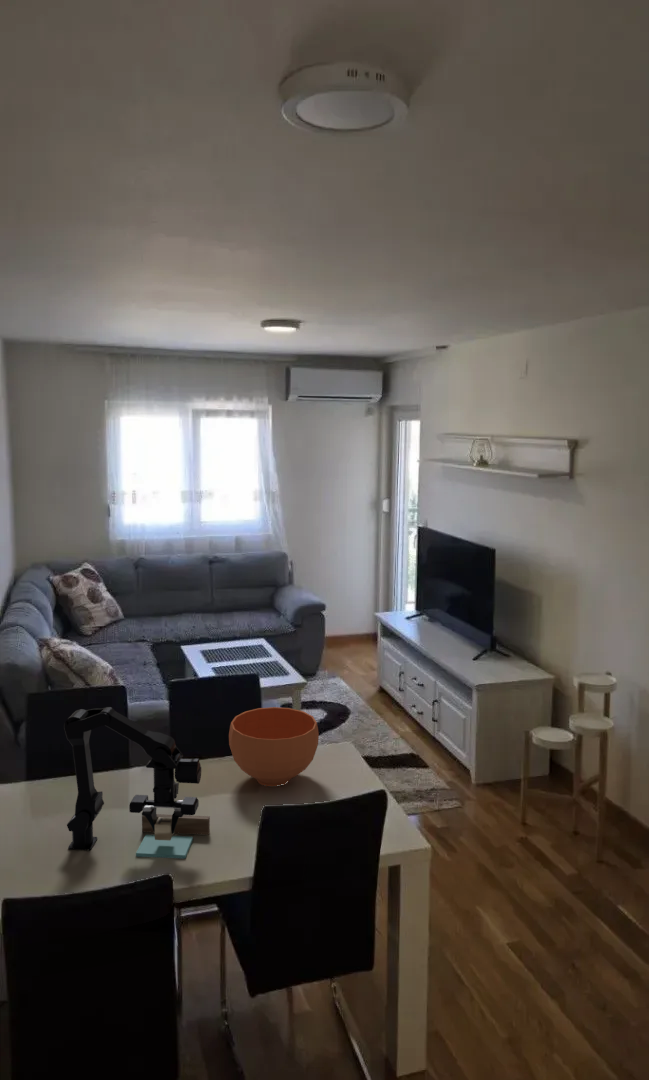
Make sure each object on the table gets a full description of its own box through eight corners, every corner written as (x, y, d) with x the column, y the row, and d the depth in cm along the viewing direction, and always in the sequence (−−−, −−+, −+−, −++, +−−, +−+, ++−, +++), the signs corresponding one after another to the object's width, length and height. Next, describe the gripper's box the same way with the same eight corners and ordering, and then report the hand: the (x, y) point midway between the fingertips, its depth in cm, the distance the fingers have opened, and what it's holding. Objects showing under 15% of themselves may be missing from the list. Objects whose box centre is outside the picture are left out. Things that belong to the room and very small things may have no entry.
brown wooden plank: (208, 834, 233) (208, 819, 232) (142, 831, 234) (141, 816, 233) (209, 831, 235) (209, 816, 234) (143, 829, 236) (143, 813, 235)
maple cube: (170, 840, 223) (170, 825, 222) (154, 839, 223) (154, 824, 222) (174, 832, 227) (174, 817, 226) (158, 831, 227) (158, 816, 226)
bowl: (333, 773, 275) (334, 717, 272) (286, 808, 249) (286, 747, 246) (262, 754, 290) (263, 700, 287) (211, 785, 264) (211, 727, 261)
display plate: (185, 858, 220) (185, 855, 220) (136, 856, 221) (135, 853, 221) (192, 839, 230) (192, 836, 230) (145, 837, 231) (145, 834, 231)
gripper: (202, 770, 230) (202, 819, 232) (139, 767, 231) (140, 817, 233) (194, 787, 219) (194, 839, 221) (128, 784, 220) (129, 836, 222)
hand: (164, 832), depth 225 cm, fingers closed on maple cube, 4 cm apart
